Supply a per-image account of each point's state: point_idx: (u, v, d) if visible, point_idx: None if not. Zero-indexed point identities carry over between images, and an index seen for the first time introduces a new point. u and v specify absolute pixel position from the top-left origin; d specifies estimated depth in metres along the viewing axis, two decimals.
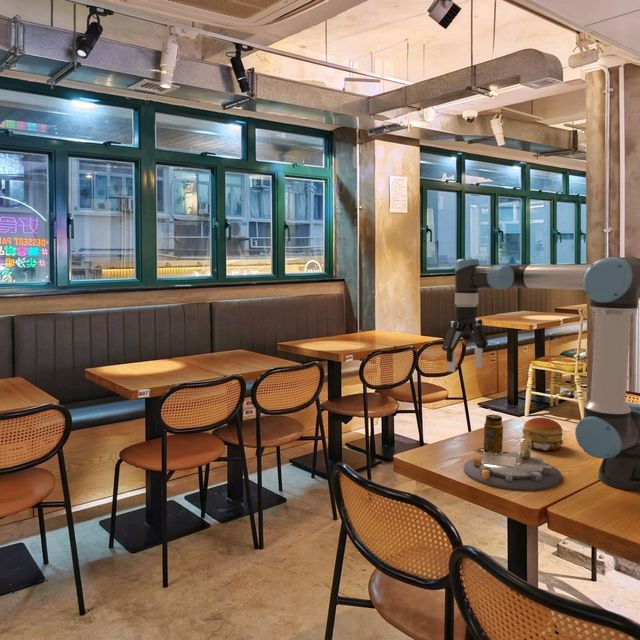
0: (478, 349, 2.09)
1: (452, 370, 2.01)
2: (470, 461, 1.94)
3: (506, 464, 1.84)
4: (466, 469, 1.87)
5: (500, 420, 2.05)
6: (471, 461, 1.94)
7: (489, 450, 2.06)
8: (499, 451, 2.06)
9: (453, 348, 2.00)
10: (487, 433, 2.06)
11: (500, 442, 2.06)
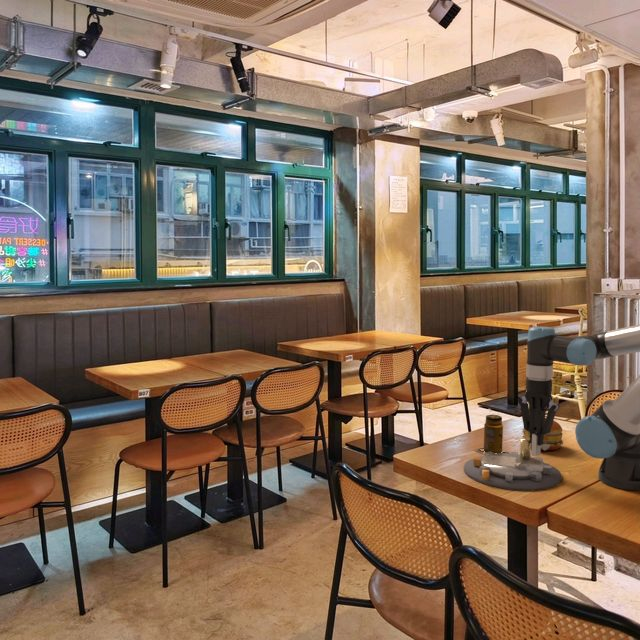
0: None
1: None
2: (470, 461, 1.94)
3: (506, 464, 1.84)
4: (466, 469, 1.87)
5: (500, 420, 2.05)
6: (471, 461, 1.94)
7: (489, 450, 2.06)
8: (499, 451, 2.06)
9: (530, 429, 1.87)
10: (487, 433, 2.06)
11: (500, 442, 2.06)
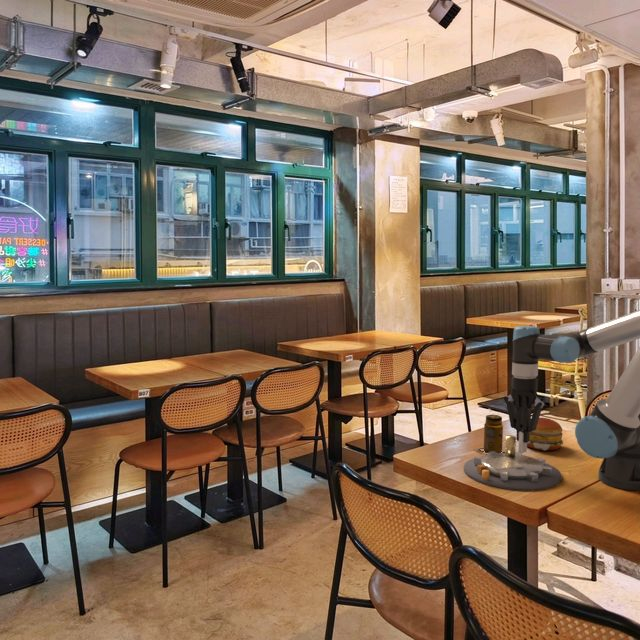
0: None
1: None
2: (470, 461, 1.94)
3: (514, 465, 1.83)
4: (466, 469, 1.87)
5: (500, 420, 2.05)
6: (471, 461, 1.94)
7: (489, 450, 2.06)
8: (499, 451, 2.06)
9: (517, 426, 1.91)
10: (487, 433, 2.06)
11: (500, 442, 2.06)
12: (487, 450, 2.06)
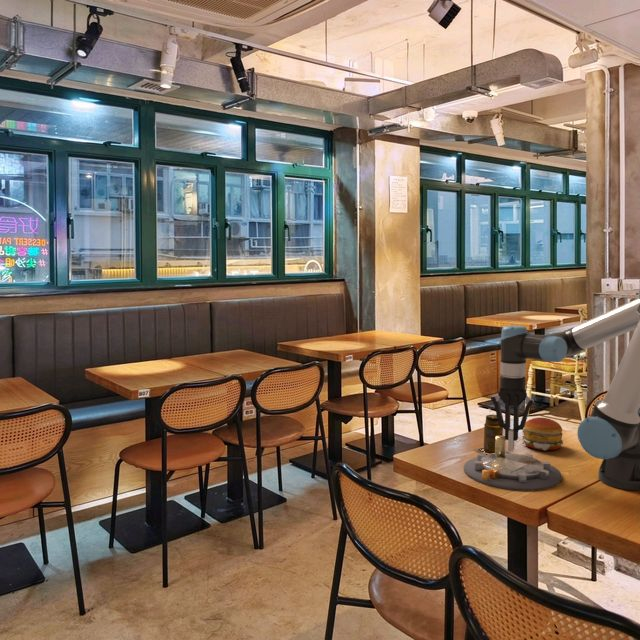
0: None
1: (508, 449, 1.93)
2: (470, 461, 1.94)
3: (520, 465, 1.83)
4: (466, 469, 1.87)
5: None
6: (471, 461, 1.94)
7: (489, 450, 2.06)
8: None
9: (506, 426, 1.92)
10: (487, 433, 2.06)
11: None
12: (487, 450, 2.06)
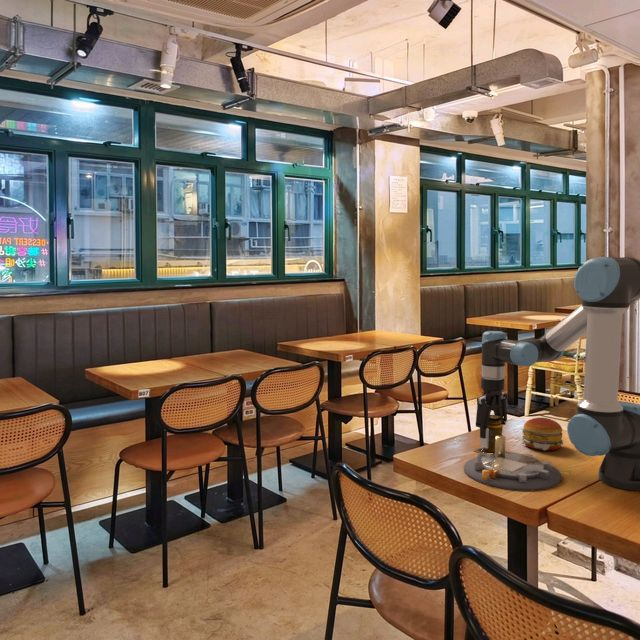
0: None
1: (485, 446, 2.05)
2: (470, 461, 1.94)
3: (520, 465, 1.83)
4: (466, 469, 1.87)
5: (499, 420, 2.05)
6: (471, 461, 1.94)
7: (488, 450, 2.06)
8: None
9: (486, 425, 2.03)
10: None
11: None
12: (486, 450, 2.06)
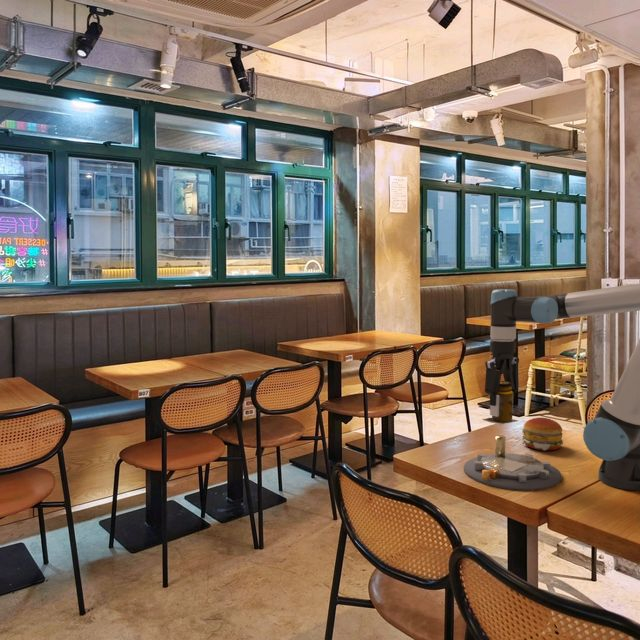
0: None
1: (496, 414, 1.89)
2: (470, 461, 1.94)
3: (520, 465, 1.83)
4: (466, 469, 1.87)
5: (510, 386, 1.89)
6: (471, 461, 1.94)
7: (498, 419, 1.89)
8: (509, 420, 1.89)
9: (496, 391, 1.87)
10: None
11: (510, 410, 1.89)
12: (496, 419, 1.90)
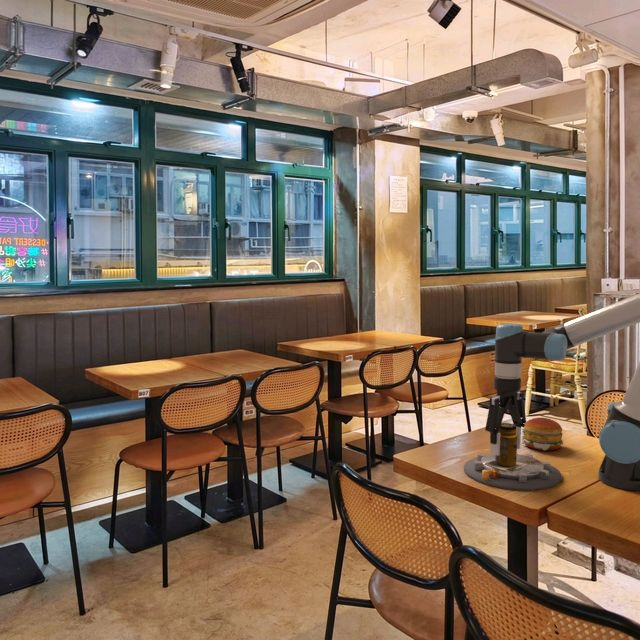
0: (516, 428, 1.86)
1: (496, 453, 1.80)
2: (470, 461, 1.94)
3: None
4: (466, 469, 1.87)
5: (514, 429, 1.81)
6: (471, 461, 1.94)
7: (502, 463, 1.81)
8: (513, 464, 1.81)
9: (498, 429, 1.78)
10: None
11: (514, 454, 1.81)
12: (499, 463, 1.82)
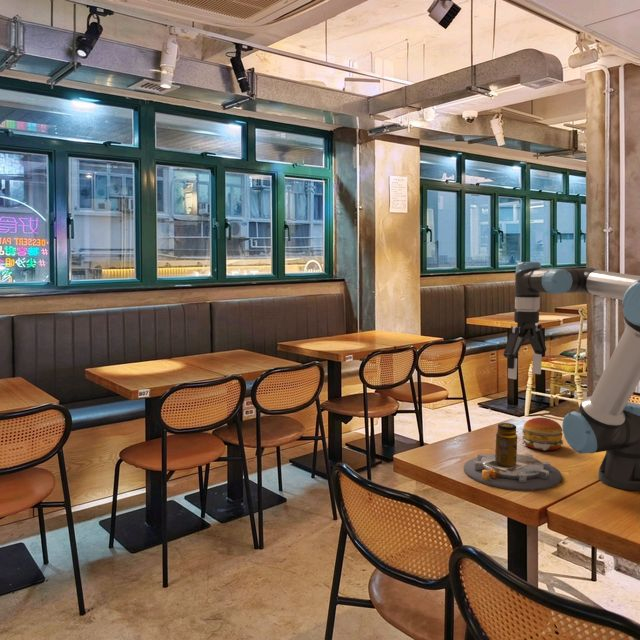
0: (537, 355, 2.03)
1: (513, 377, 1.94)
2: (470, 461, 1.94)
3: None
4: (466, 469, 1.87)
5: (514, 429, 1.81)
6: (471, 461, 1.94)
7: (502, 463, 1.81)
8: (513, 464, 1.81)
9: (515, 354, 1.93)
10: (499, 444, 1.81)
11: (514, 454, 1.81)
12: (499, 463, 1.82)
